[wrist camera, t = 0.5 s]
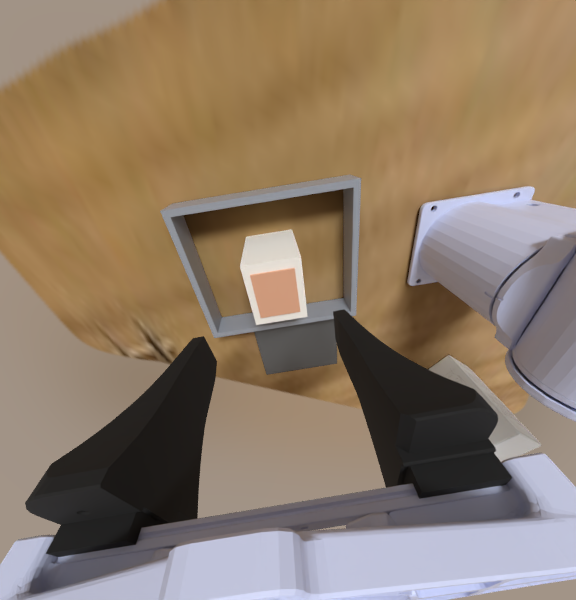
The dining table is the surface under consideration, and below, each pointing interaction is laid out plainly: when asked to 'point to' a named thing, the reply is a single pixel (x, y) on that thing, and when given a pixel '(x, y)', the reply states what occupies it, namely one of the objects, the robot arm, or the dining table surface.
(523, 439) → the small box
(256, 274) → the block
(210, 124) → the dining table surface
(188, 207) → the grey rectangular frame
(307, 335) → the mat
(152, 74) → the dining table surface
